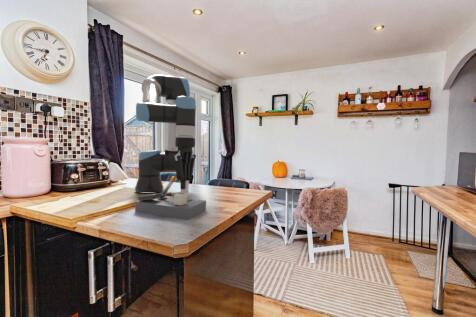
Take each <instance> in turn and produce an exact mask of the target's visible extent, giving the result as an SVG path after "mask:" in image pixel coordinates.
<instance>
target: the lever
mask: <svg viewBox="0 0 476 317" xmlns="http://www.w3.org/2000/svg"><path fill="white" fill-rule="evenodd" d="M177 181H178V179H177V176H176V175H172V176H171V177H170V179H169V181H168V184H166V186H165V188H163V191H162V192H160V193H161V197H160V198H163V197H165V196H167V192H168V191H169V189H170V188H171V187H172V185H173V184H174V183H175V182H177Z"/></svg>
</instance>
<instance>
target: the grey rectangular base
mask: <svg viewBox="0 0 476 317" xmlns="http://www.w3.org/2000/svg"><path fill="white" fill-rule="evenodd" d="M134 203H135V204H134V205H135V206H134V208H135V209H134V212H137V213H143V214H147V215H155V216H162V217H166V218H173V219H180V220H185V221H187V220H190V219H191V218H194V217H196V216H197V215H200V214H201V213H203V212H205V211H207V201H206V200H202V199H196V198H188V197H187V203H186V204H183V205H174V196H169V195H166V196H165V197H163V198H160V197H159V198H156V199H153V200H141V201H139V200H137V201H135V202H134Z"/></svg>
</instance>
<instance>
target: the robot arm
mask: <svg viewBox="0 0 476 317" xmlns="http://www.w3.org/2000/svg"><path fill="white" fill-rule="evenodd" d="M190 92H191V89H190V82H189V81H188V79H187V77H183V76H175V75H166V74H153V75H150V76H149V77H148V76H147V78H145V79H144V80H143V81H142V84H141V93H142V100H141V101H142V102H137V103H136V104H135V117H136V118H135V119H136V120H137V121H138V122H145V123H161V124H162V123H165V124H166V123H167V146H166V147H165V148H164V151H163V152H162V151H161V149H151V150H143V151H140V152H139V153H138V178H137V181H136V184H135V187H134V192H135V191H136V192H159V193H162V192H163V191H164V185H163V182H162V177H161V174H162V173H175V177H176V178H177V181H180V192H182V193H187V198H188V197H189V188H190V184H189V182H190V181H192V178H193V174H194V168H195V167H194V166H195V159H196V157H197V155H196V154H194V153H193V152H194V150H193V148H195V147H196V138H195V137H196V114H197V113H196V110H197V109H196V108H197V106H196V102H197V100H196V99H195V98H194V97H192V96H191V95H190V94H191V93H190ZM160 97H161V98H165V102H166V103H167V104H163V103H161V99H160ZM136 192H135V193H136Z"/></svg>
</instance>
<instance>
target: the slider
mask: <svg viewBox="0 0 476 317" xmlns="http://www.w3.org/2000/svg"><path fill="white" fill-rule="evenodd" d="M173 195H174V196H173V197H174V205H183V204H186V203H187V198H188V197H187V193H182V192H181V191H180V192H177V193H174V194H173Z"/></svg>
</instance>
